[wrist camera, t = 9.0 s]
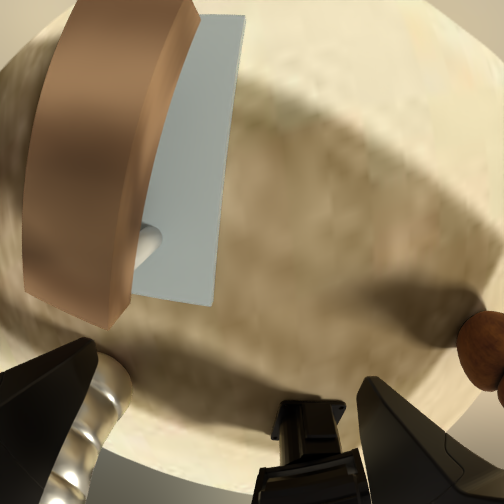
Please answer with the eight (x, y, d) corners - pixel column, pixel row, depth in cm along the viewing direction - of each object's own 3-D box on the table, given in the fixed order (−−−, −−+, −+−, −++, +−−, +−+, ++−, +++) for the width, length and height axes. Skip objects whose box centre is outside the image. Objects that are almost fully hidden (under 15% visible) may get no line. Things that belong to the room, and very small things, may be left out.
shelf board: (130, 303, 16) (108, 330, 13) (52, 272, 15) (24, 291, 12) (201, 19, 11) (187, -8, 8) (104, 17, 10) (78, -2, 7)
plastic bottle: (131, 349, 23) (31, 544, 4) (145, 399, 25) (81, 566, 6) (75, 337, 23) (-37, 490, 4) (92, 386, 25) (15, 528, 6)
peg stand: (213, 300, 21) (200, 339, 16) (75, 275, 21) (41, 302, 16) (245, 21, 14) (240, -15, 10) (91, 33, 14) (56, 14, 10)
